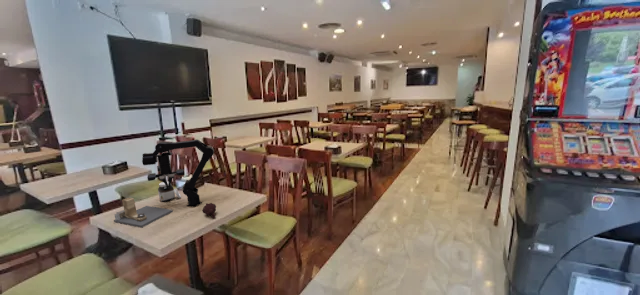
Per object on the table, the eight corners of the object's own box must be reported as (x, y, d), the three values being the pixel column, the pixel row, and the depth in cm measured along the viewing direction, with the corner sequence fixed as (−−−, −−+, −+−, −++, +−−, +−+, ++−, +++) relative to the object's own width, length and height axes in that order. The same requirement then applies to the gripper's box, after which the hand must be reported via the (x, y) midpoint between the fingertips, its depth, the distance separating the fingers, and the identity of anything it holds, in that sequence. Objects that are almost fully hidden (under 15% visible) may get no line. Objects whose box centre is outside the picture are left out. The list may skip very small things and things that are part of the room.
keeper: (144, 220, 143) (143, 214, 142) (110, 225, 138) (109, 219, 138) (152, 209, 156) (150, 204, 155) (121, 214, 152) (120, 208, 151)
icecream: (197, 202, 152) (203, 213, 140) (210, 196, 155) (217, 206, 144) (202, 211, 155) (208, 223, 143) (214, 205, 158) (221, 216, 146)
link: (147, 218, 145) (144, 200, 143) (140, 221, 141) (136, 203, 139) (129, 213, 151) (125, 196, 149) (121, 216, 148) (118, 199, 145)
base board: (172, 211, 155) (172, 209, 155) (141, 227, 138) (141, 225, 137) (146, 207, 162) (146, 205, 162) (114, 222, 145) (113, 220, 145)
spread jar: (157, 200, 173) (154, 183, 171) (175, 194, 182) (172, 178, 180) (166, 204, 167) (163, 186, 164) (184, 197, 176) (181, 181, 173)
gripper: (181, 157, 165) (185, 181, 169) (146, 162, 156) (151, 187, 159) (182, 161, 156) (186, 186, 159) (145, 167, 147) (150, 193, 150)
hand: (168, 188), depth 157 cm, fingers closed
